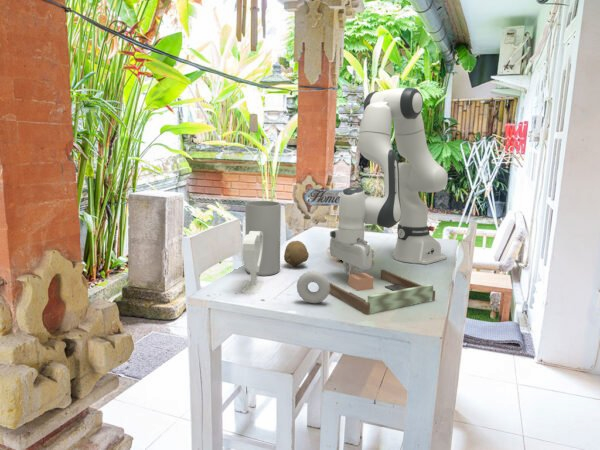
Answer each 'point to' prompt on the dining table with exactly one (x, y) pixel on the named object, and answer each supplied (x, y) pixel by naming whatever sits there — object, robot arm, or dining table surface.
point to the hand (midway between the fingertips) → (349, 275)
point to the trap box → (387, 295)
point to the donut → (317, 278)
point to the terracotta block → (361, 281)
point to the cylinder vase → (266, 232)
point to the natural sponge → (295, 253)
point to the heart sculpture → (253, 259)
